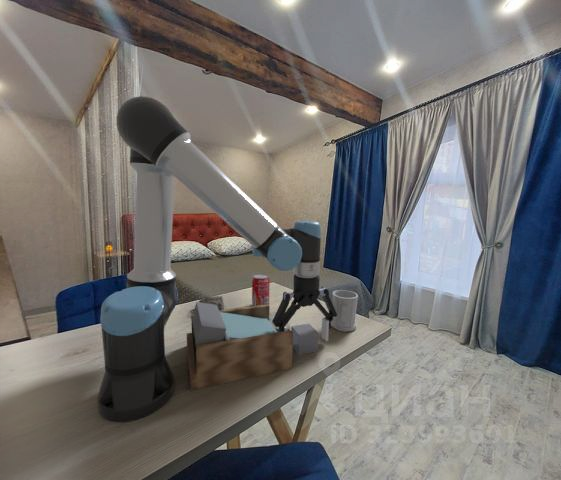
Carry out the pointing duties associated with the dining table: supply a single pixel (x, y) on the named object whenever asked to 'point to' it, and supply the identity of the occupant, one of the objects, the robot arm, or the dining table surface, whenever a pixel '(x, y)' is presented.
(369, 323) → the dining table surface
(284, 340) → the brown open boxy piece
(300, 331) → the block
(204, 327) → the trapdoor
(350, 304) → the cup
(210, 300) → the rock
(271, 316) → the stone
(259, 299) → the soda can
